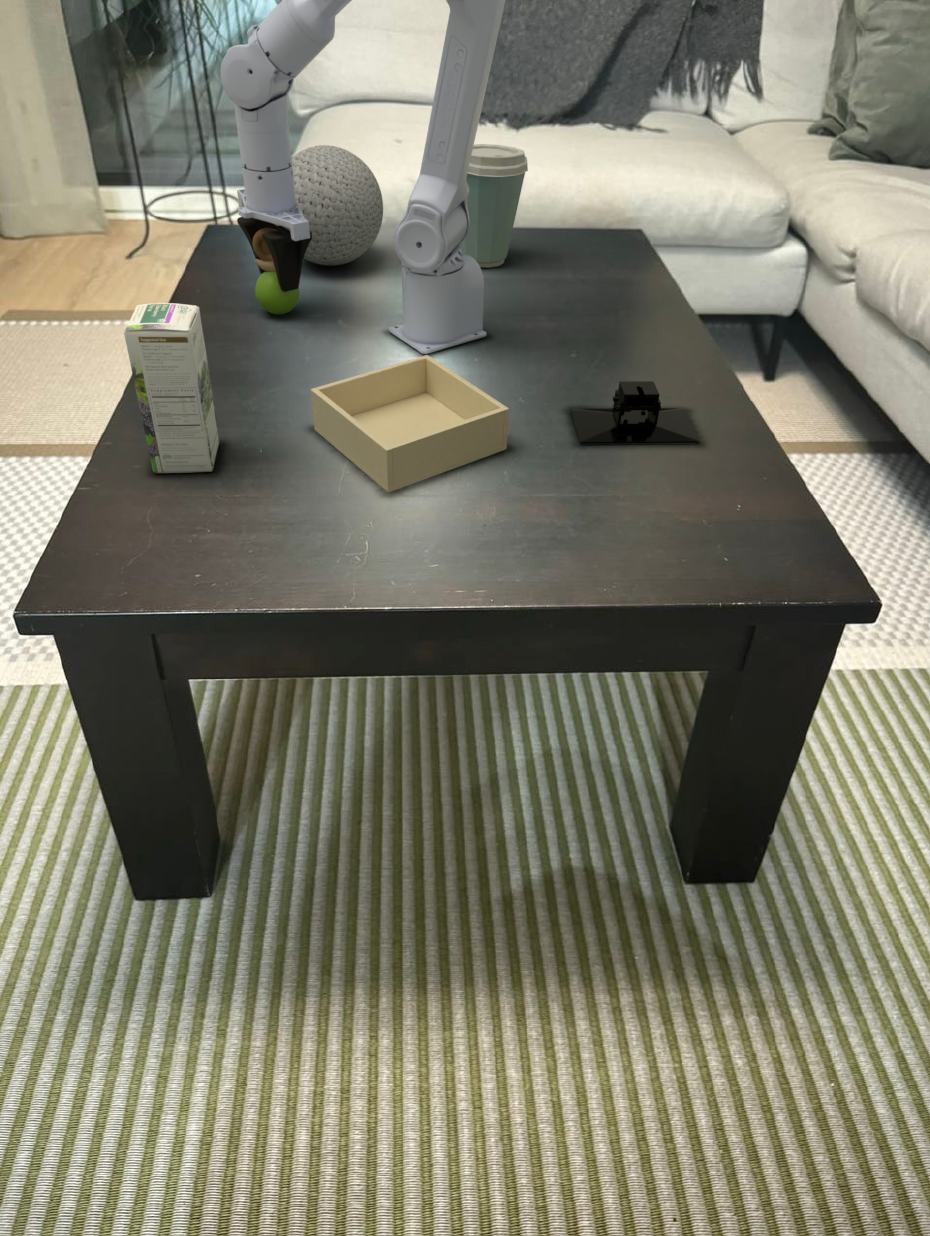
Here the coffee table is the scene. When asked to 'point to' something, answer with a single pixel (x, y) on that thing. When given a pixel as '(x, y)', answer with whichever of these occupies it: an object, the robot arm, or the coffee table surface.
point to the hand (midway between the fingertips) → (279, 282)
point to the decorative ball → (337, 203)
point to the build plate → (634, 419)
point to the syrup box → (173, 386)
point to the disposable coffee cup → (492, 201)
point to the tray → (409, 421)
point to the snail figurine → (271, 280)
